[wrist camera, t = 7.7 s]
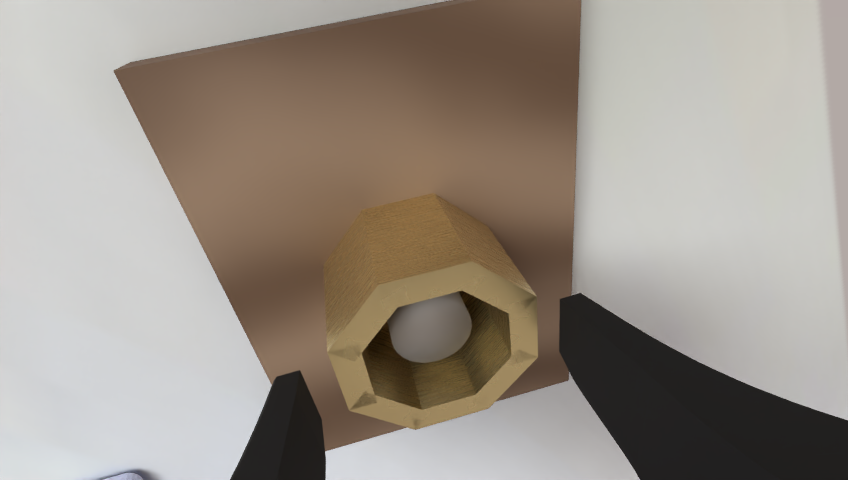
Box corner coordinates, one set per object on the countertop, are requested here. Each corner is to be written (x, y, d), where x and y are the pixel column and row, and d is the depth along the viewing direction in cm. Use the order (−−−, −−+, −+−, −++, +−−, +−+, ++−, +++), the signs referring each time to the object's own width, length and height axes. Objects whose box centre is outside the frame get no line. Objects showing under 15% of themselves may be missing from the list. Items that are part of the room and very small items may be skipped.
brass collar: (494, 312, 17) (538, 393, 14) (351, 350, 17) (362, 445, 13) (483, 181, 14) (536, 245, 11) (309, 222, 14) (308, 302, 10)
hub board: (556, 361, 21) (604, 437, 18) (308, 432, 20) (307, 529, 17) (560, -21, 13) (654, -20, 9) (130, 62, 12) (51, 100, 8)
